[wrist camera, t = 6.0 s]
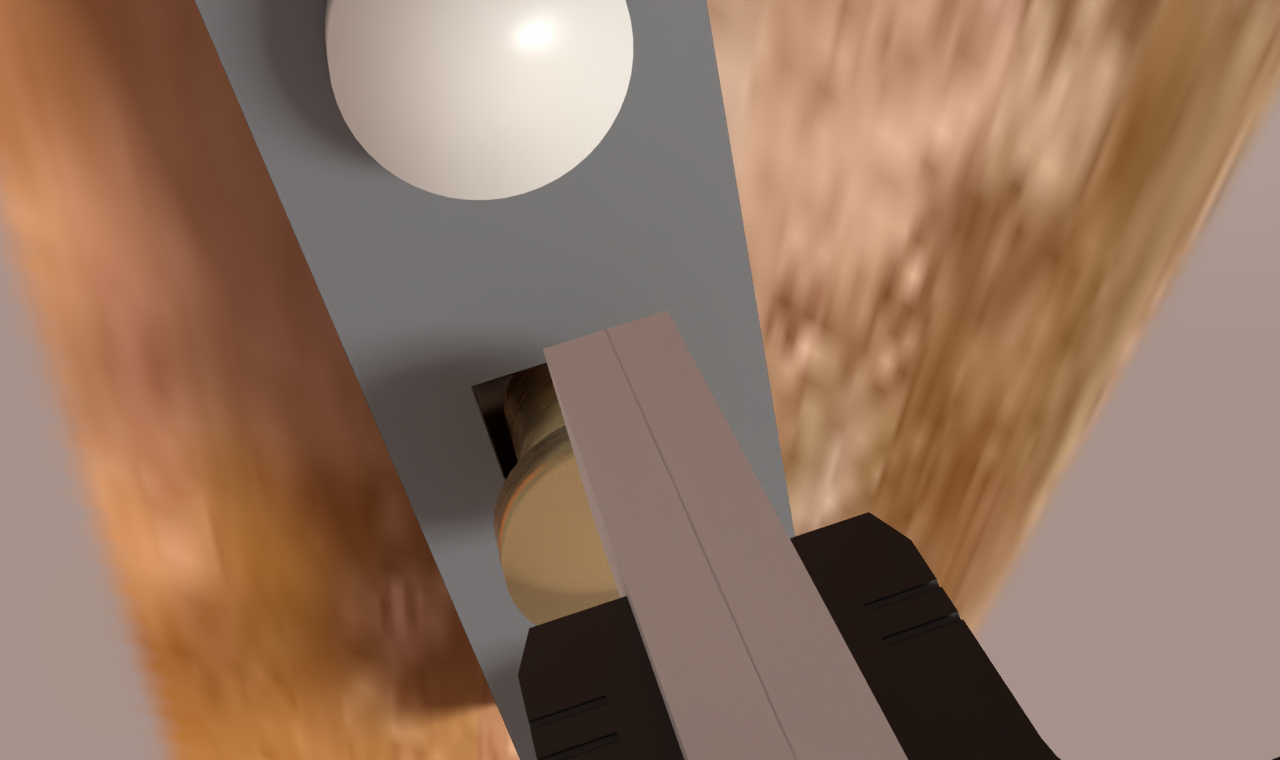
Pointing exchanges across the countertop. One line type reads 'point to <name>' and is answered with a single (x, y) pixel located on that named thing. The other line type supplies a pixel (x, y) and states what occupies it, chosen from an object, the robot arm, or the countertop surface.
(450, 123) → the knob near arm
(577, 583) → the brass knob
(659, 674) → the robot arm
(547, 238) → the console
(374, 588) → the countertop surface
